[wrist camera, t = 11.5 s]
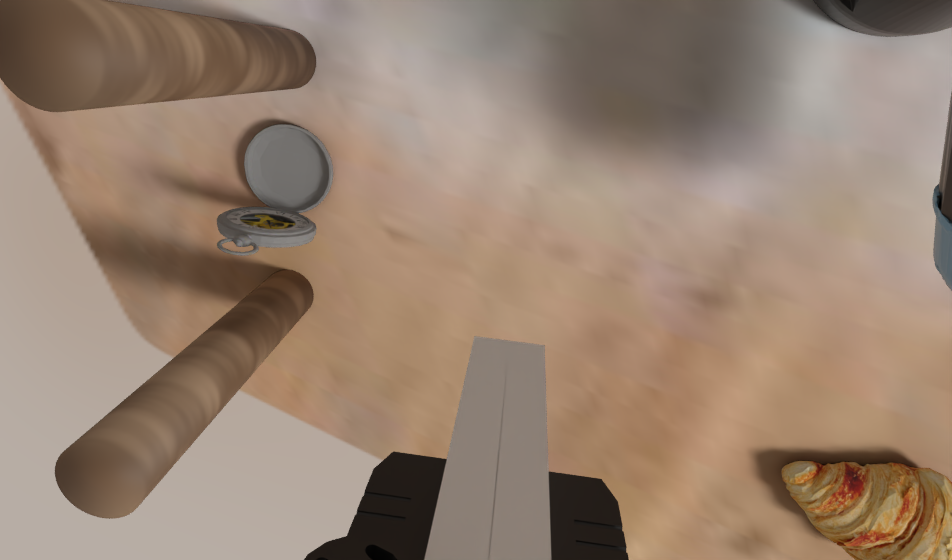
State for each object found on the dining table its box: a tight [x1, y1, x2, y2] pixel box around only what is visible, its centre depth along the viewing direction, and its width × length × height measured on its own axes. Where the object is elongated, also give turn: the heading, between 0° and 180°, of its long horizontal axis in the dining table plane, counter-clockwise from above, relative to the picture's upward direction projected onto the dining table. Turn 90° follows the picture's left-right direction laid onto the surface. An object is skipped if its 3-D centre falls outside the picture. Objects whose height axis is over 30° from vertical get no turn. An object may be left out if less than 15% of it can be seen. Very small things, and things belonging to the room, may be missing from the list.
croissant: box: [782, 461, 952, 560], centre depth 50 cm, size 21×10×8 cm, turn 69°
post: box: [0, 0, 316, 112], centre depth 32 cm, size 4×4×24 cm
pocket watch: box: [217, 124, 333, 256], centre depth 42 cm, size 8×8×10 cm
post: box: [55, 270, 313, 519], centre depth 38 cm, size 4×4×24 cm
